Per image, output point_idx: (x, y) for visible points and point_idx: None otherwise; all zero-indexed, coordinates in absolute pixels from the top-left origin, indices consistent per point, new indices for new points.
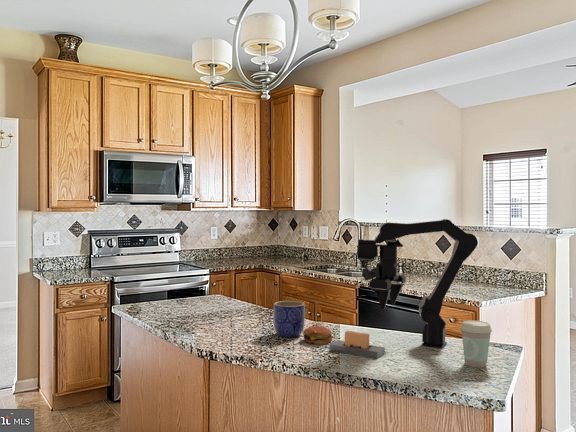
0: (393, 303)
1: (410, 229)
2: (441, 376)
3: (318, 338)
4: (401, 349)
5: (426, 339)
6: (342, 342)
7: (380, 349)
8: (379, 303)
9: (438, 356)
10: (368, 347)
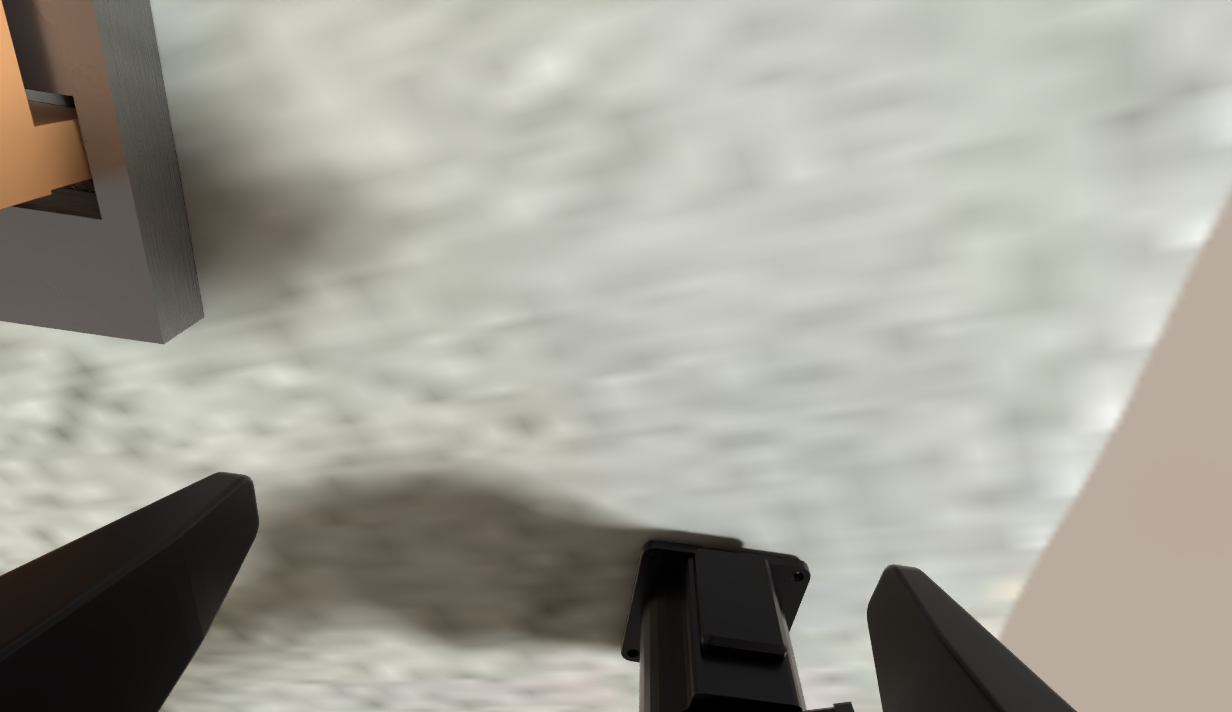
0: (875, 630)
1: None
2: None
3: None
4: (436, 416)
5: (674, 598)
6: None
7: (61, 322)
8: (66, 544)
9: (403, 640)
10: (61, 181)
